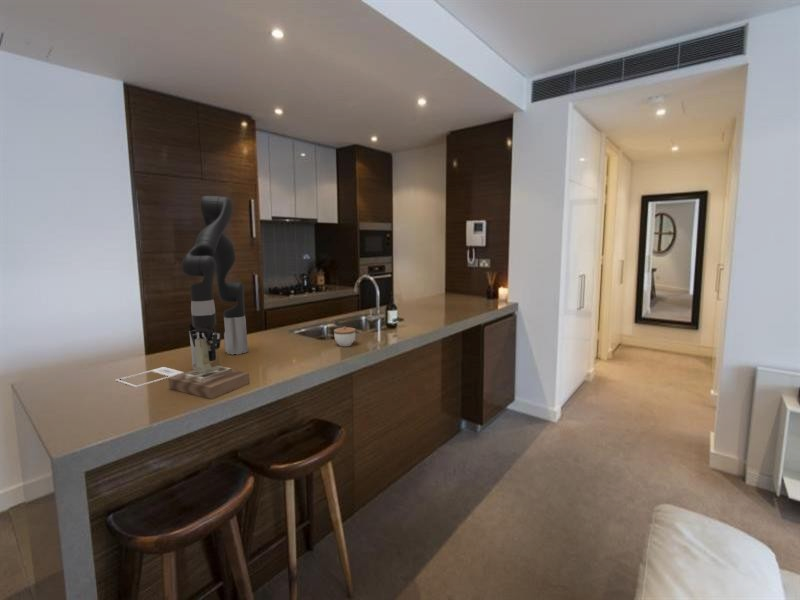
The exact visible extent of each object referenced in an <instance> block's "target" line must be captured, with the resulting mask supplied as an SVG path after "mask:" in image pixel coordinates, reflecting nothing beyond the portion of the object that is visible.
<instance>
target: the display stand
mask: <svg viewBox="0 0 800 600" xmlns="http://www.w3.org/2000/svg"><path fill="white" fill-rule="evenodd" d="M167 379H168V387H169V390H172V391H176V392H179V393H180V392H182V393H184V394H185V393H186V394H189V395H193V396H198V397H201V398H206V399H209V400H212V399H215V398H218V397H221V396H222V395H225V394H228V393H230V392H233V391H235V390H238V389H240V388H242V387H244V386H246V385H249V384H250V373H249V372H245V371H239V370H234V369H233V368H232V367H225V366H220V365H219V370H216V371H213V372H210V373H207V374H202V373H198V372H197V369H195V370H193V369H192V370H189V371H186V372H184V373H183V374H179V375H176V376H173V377H170V378H167ZM232 390H233V391H232ZM227 392H228V393H227Z"/></svg>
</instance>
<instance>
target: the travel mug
mask: <svg viewBox="0 0 800 600" xmlns="http://www.w3.org/2000/svg"><path fill="white" fill-rule="evenodd" d="M188 328H189V331H188V333H190V331H193V330H195V329H196V328H195V327H193V323H189V324H188ZM189 342H190V351H191V363H192V364H191V365H192V370H195V369H197V363H196V349H195V347H194V345H193V342H192V338H191V335H190V334H189Z"/></svg>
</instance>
